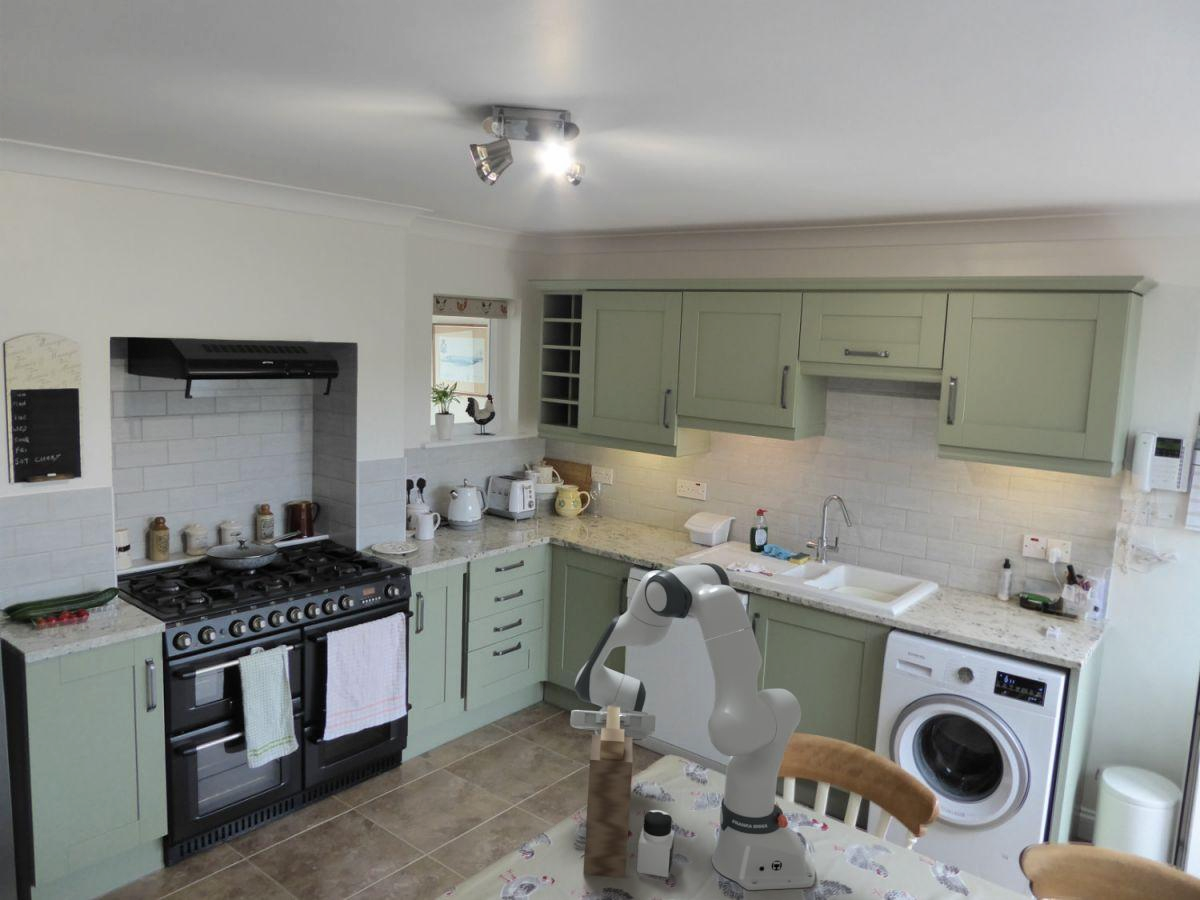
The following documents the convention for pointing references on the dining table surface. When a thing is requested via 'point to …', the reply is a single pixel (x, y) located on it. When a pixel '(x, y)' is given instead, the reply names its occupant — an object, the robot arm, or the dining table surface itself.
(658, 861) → the medicine bottle
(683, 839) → the dining table surface
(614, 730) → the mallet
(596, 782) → the stand
